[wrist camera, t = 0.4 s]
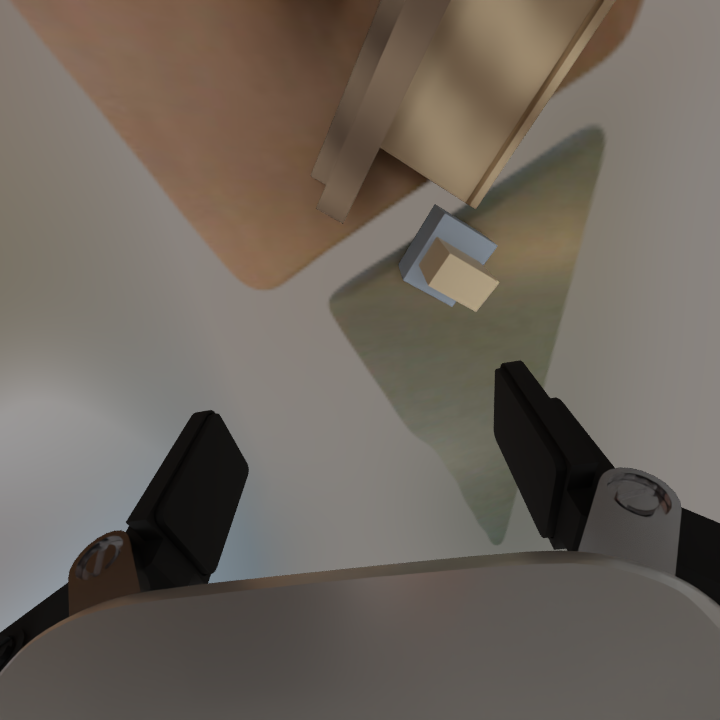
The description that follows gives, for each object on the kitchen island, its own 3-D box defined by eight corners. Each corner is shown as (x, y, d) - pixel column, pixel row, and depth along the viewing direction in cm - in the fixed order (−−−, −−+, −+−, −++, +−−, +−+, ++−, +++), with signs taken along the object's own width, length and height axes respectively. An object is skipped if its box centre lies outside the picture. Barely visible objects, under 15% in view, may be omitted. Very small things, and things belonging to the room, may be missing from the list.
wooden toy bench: (467, -213, 21) (585, -597, 10) (611, -62, 24) (816, -226, 13) (311, 174, 32) (287, 192, 22) (423, 240, 36) (451, 284, 25)
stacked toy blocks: (434, 204, 34) (460, 226, 25) (482, 234, 36) (523, 265, 27) (398, 264, 37) (410, 302, 29) (443, 289, 39) (467, 333, 30)
